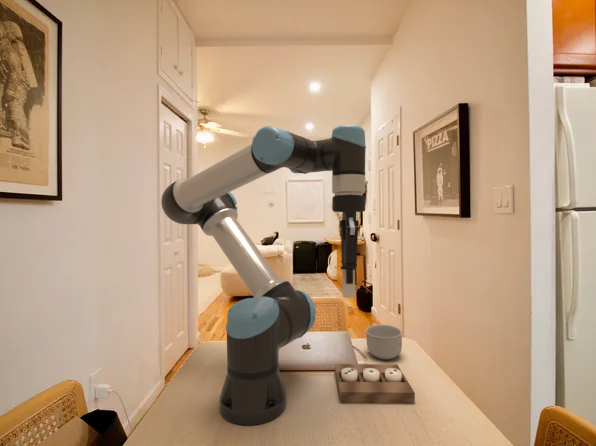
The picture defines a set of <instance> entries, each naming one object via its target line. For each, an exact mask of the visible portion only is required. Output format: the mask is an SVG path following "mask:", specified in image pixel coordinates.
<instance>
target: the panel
mask: <svg viewBox="0 0 596 446" xmlns="http://www.w3.org/2000/svg"><path fill="white" fill-rule="evenodd" d="M344 368H353V369H356V370H357V382H341V370H342V369H344ZM365 368H374V369H377V370H378V371H379V382H363V370H364V369H365ZM387 368H395V369H398V370H400V371H401V372H402V370H401V368H400V366H399V365H398V364H394V363H393V364H386V363H385V364H382V363H381V364H380V363H379V364H378V363H377V364H374V363H373V364H370V363H369V364H368V363H365V364H364V363H361V364H360V363H357V364H356V363H334V375H335V376H334V377H335V381H336V386H337V391H338V395H339V401H340V403H341V404H343V403H344V404H411V405H413V404H416V396H415V395H416V394H415V391H414V389H413V387H412V385H410V383H409V381H408V380H407V378H406V377H405V374H404V373H403V372H402V382H386V381H385V370H386V369H387Z"/></svg>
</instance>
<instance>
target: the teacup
mask: <svg viewBox="0 0 596 446" xmlns="http://www.w3.org/2000/svg"><path fill="white" fill-rule="evenodd" d="M402 334H403V331H402V329H400V328H399V327H396V326H394V325H390V324H377V323H376V322H374V323H372V324H370V326H368V327H366V328H365V338H366V339H365V340H366V348H367V351H368V352H369V353H370V354H371V355H373V357H375V358H377V359H379V360H393V359H394V358H396V357H397V356H399V355H400V354H401V352H402V348H403V346H402V345H403V339H402Z"/></svg>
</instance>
